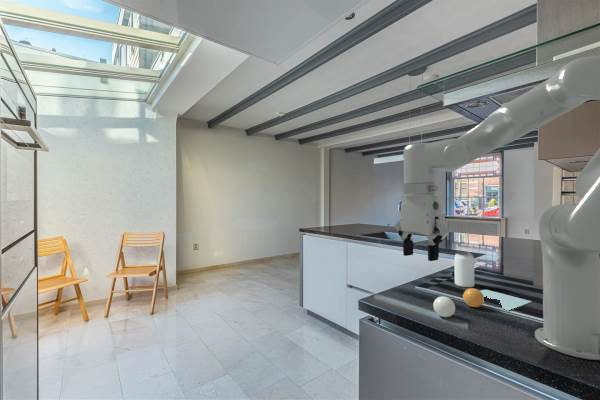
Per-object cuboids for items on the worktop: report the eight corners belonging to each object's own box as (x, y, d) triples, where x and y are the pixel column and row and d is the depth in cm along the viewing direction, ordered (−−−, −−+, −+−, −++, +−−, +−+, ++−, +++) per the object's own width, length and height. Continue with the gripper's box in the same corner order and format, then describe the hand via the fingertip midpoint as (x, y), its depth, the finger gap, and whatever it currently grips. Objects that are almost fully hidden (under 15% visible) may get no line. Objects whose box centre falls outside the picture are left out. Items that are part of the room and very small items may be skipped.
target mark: (531, 302, 90) (531, 301, 90) (508, 311, 83) (508, 310, 83) (485, 289, 102) (485, 289, 102) (461, 296, 95) (461, 296, 95)
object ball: (488, 307, 86) (488, 289, 86) (477, 311, 83) (477, 292, 83) (470, 302, 91) (469, 284, 90) (459, 305, 88) (459, 287, 88)
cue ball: (459, 317, 79) (459, 298, 79) (447, 322, 76) (446, 301, 76) (441, 311, 84) (441, 292, 84) (429, 315, 81) (428, 295, 81)
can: (477, 288, 104) (476, 255, 104) (458, 287, 105) (457, 255, 105) (470, 283, 110) (470, 252, 110) (452, 282, 111) (451, 251, 111)
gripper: (459, 189, 70) (460, 262, 70) (403, 191, 85) (404, 251, 85) (439, 189, 66) (440, 266, 66) (384, 191, 81) (385, 253, 81)
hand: (420, 257), depth 76 cm, fingers open, 7 cm apart
